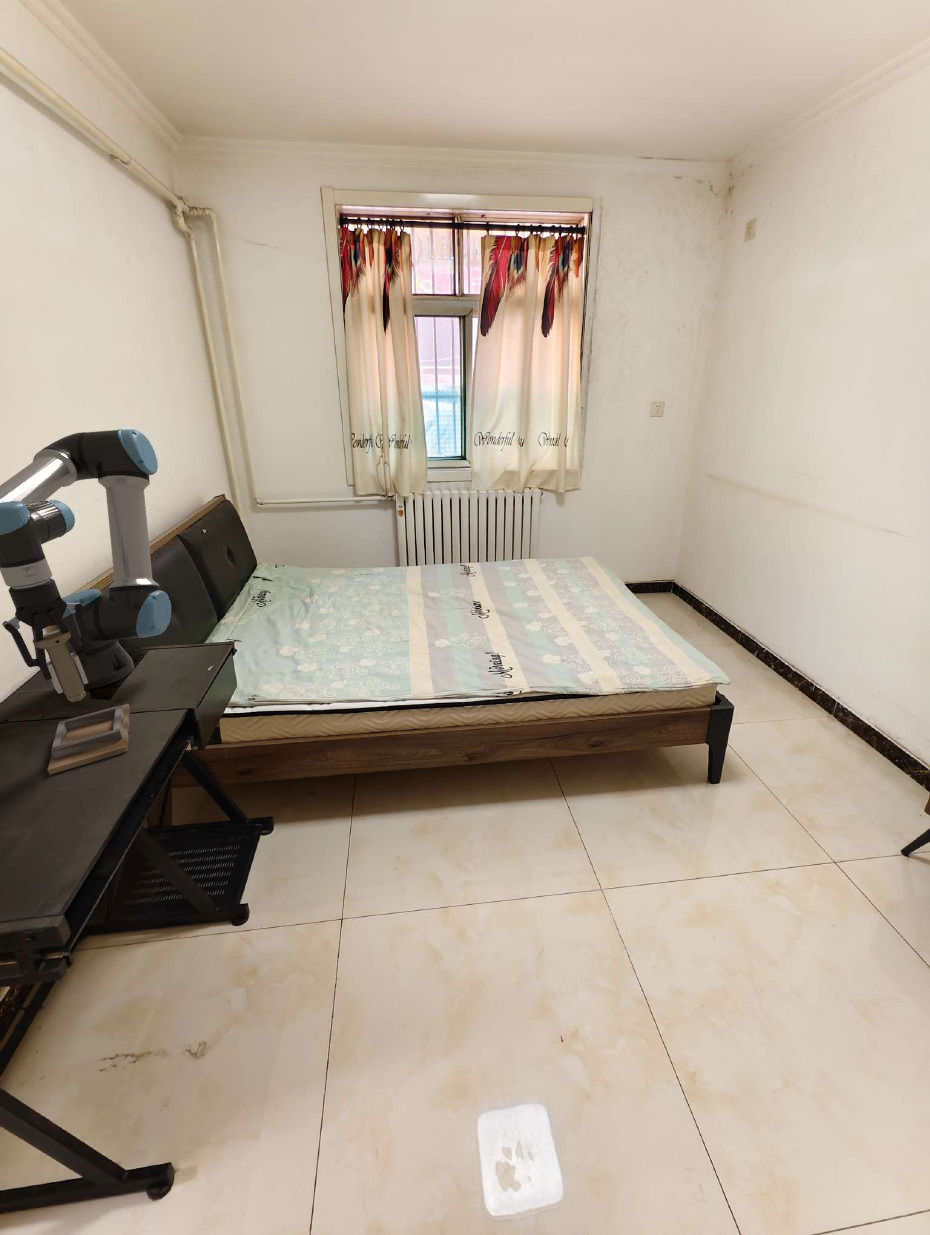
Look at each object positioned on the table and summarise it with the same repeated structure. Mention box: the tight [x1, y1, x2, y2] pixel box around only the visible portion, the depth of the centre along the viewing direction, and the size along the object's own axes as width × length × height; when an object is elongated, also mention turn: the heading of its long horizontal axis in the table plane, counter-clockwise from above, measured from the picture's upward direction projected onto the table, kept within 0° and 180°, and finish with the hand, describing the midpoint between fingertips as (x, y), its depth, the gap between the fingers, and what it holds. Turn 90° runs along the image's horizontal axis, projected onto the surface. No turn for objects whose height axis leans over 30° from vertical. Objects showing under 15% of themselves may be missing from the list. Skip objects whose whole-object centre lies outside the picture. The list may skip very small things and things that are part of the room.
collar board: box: [47, 703, 131, 776], centre depth 123 cm, size 20×14×3 cm
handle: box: [32, 629, 87, 703], centre depth 116 cm, size 5×6×15 cm
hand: (71, 685), depth 118 cm, fingers closed on handle, 4 cm apart
